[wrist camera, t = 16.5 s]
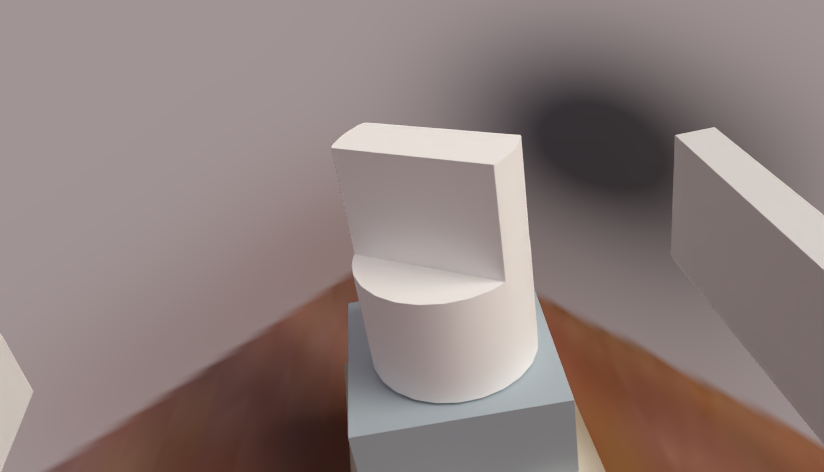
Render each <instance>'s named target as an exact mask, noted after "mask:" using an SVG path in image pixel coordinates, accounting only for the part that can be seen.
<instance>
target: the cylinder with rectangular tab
mask: <svg viewBox="0 0 824 472" xmlns="http://www.w3.org/2000/svg"><path fill="white" fill-rule="evenodd" d="M331 149H332V154H333V158H334V163H335V168H336V172H337V177H338V181H339V186H340V191H341V195H342V199H343V204H344V209H345V213H346V218H347V222H348V227H349V231H350V236H351V241H352V245H353V250H354V257H353V260H352V270H353V276H354V281H355V285H356V289H357V294H358V298H359V303H360V307H361V312H362V316H363V321H364V325H365V330H366V334H367V338H368V343H369V347H370V352H371V356H372V361H373V365H374V369H375V371H376V372H377V374H378V375H379V377H380V379H381V380H382V382H384V383H385V384H386V385H388V386H389V387H390V388H391V389H393V390H394V391H395V392H397V393H399V394H402V395H404V396H407V397H409V398H412V399H414V400H420V401H426V402H431V403H460V402H465V401H470V400H475V399H479V398H484V397H486V396H488V395H491V394H493V393H495V392H498V391H500V390H502V389H505V388H506V387H507V386H509V385H510V384H512V383H513V382H514V381H516V380H517V379H519V378H520V377H521V376H522V375H523V374H524V373H525V372H526V370H527V369H528V368H529V367H530V366H531V364H532V363H533V361H534V358H535V355H536V353H537V350H538V333H537V320H536V308H535V296H534V283H533V271H532V260H531V246H530V239H529V229H528V216H527V203H526V191H525V179H524V167H523V155H522V142H521V135H512V134H499V133H486V132H475V131H462V130H450V129H438V128H425V127H414V126H401V125H390V124H378V123H362V124H360V125H358V126H356V127H355V128H353V129H351V130H350V131H348V132H346V133H345V134H343V135H342V136H341V137H340V138H339V139H338V140H337V141H336V142H335V143H334V144H333V145H332V147H331Z"/></svg>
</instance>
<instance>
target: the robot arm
mask: <svg viewBox="0 0 824 472" xmlns="http://www.w3.org/2000/svg"><path fill="white" fill-rule="evenodd" d="M674 155H675V156H674V181H673V182H674V183H673V210H672V237H671V239H672V240H671V257H672V259H673V260H674V261H675V262H676V263H677V265H678V266H679V267H680V268H681V269H682V271H683V272H684V273H685V274H686V276H687V277H688V278H689V279H690V280H691V282H692V283H693V284H694V286H695V287H696V288H697V289H698V290H699V292H700V293H701V294H702V295H703V296H704V298H705V299H706V300H707V301H708V303H709V304H710V305H711V306H712V308H713V309H714V310H715V311H716V312H717V314H718V315H719V316H720V317H721V318H722V320H723V321H724V322H725V323H726V325H727V326H728V327H729V328H730V330H731V331H732V332H733V333H734V335H735V336H736V337H737V338H738V339H739V341H740V342H741V343H742V344H743V346H744V347H745V348H746V349H747V350H748V352H749V353H750V354H751V355H752V357H753V358H754V359H755V360H756V362H757V363H758V364H759V365H760V366H761V368H762V369H763V370H764V371H765V373H766V374H767V375H768V376H769V377H770V379H771V380H772V381H773V382H774V384H775V385H776V386H777V387H778V389H779V390H780V391H781V392H782V393H783V395H784V396H785V397H786V398H787V399H788V401H789V402H790V403H791V404H792V406H793V407H794V408H795V409H796V410H797V412H798V413H799V414H800V415H801V417H802V418H803V419H804V420H805V422H806V423H807V424H808V425H809V427H810V428H811V429H812V430H813V431H814V433H815V434H816V435H817V436H818V438H819V439H820V440H821V441H822V442H823V444H824V215H823V214H822V213H820V212H819V211H818V210H817V209H815V208H814V207H813V206H812V205H810V204H809V203H808V202H807V201H805V200H804V199H803V198H801V197H800V196H799V195H798V194H797V193H795V192H794V191H793V190H792V189H791V188H789V187H788V186H787V185H785V184H784V183H783V182H782V181H781V180H779V179H778V178H777V177H776V176H774V175H773V174H772V173H771V172H769V171H768V170H767V169H765V168H764V167H763V166H762V165H761V164H759V163H758V162H757V161H756V160H754V159H753V158H752V157H751V156H750V155H748V154H747V153H746V152H745V151H743V150H742V149H741V148H740V147H738V146H737V145H736V144H735V143H733V142H732V141H731V140H730V139H728V138H727V137H726V136H725V135H723V134H722V133H721V132H720V131H718V130H717V129H716V128H715V127H713V128H708V129H703V130H699V131H693V132H689V133H684V134H679V135H675V154H674ZM32 394H33V390H32V389H31V387H30V385H29V383H28V381H27V379H26V378H25V376H24V374H23V372H22V370H21V369H20V367H19V365H18V363H17V362H16V360H15V358H14V356H13V354H12V353H11V351H10V349H9V347H8V345H7V344H6V342H5V340H4V338H3V337H2V335H1V333H0V472H1V471H2V468H3V466H4V463H5V461H6V458H7V455H8V453H9V451H10V448H11V446H12V443H13V441H14V438H15V436H16V433H17V431H18V429H19V426H20V423H21V421H22V418H23V416H24V414H25V411H26V409H27V406H28V404H29V401H30V399H31V396H32Z"/></svg>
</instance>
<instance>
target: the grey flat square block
mask: <svg viewBox="0 0 824 472" xmlns="http://www.w3.org/2000/svg"><path fill="white" fill-rule="evenodd" d="M534 296H535V308H536V320H537V333H538V350H537V353H536V355H535V358H534V361H533V363H532V364H531V366H530V367H529V368H528V369H527V370H526V372H525V373H524V374H523V375H522V376H521V377H520V378H519V379H517V380H516V381H514V382H513V383H512V384H510V385H509V386H507V387H506V388H505V389H502V390H500V391H498V392H495V393H493V394H491V395H488V396H486V397H484V398H479V399H475V400H470V401H465V402H460V403H431V402H426V401H420V400H414V399H412V398H409V397H407V396H404V395H402V394H399V393H397V392H395V391H394V390H393V389H391V388H390V387H389V386H388V385H386V384H385V383H384V382H382V380H381V379H380V377H379V375H378V374H377V372H376V371H375V369H374V365H373V361H372V356H371V352H370V347H369V343H368V338H367V334H366V330H365V325H364V321H363V316H362V312H361V307H360V303H359V302H354V303H348V440H349V443H350V447H351V450H352V454H353V457H354V461H355V464H356V468H357V471H358V472H578V471H579V465H578V450H577V434H576V419H575V404H574V398H573V395H572V392H571V390H570V387H569V384H568V381H567V379H566V376H565V373H564V370H563V367H562V365H561V362H560V359H559V356H558V354H557V351H556V348H555V345H554V342H553V340H552V337H551V334H550V331H549V329H548V326H547V323H546V320H545V318H544V315H543V312H542V309H541V306H540V304H539V301H538V298H537V295H536V293H535V290H534Z"/></svg>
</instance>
